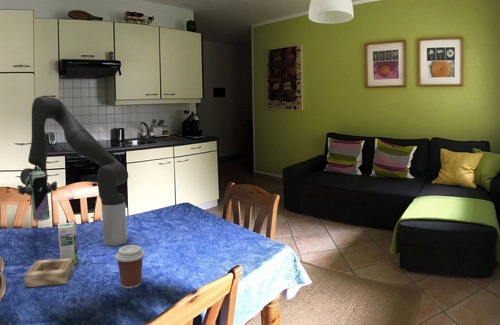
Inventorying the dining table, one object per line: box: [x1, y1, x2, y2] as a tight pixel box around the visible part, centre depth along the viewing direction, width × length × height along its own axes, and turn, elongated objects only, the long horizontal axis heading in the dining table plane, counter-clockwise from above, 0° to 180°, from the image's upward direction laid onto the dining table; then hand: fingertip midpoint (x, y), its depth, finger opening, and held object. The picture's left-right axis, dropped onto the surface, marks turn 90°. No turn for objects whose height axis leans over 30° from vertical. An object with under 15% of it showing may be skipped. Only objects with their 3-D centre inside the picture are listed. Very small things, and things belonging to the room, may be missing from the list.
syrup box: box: [57, 221, 79, 265], centre depth 143 cm, size 6×6×14 cm
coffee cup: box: [114, 244, 145, 289], centre depth 127 cm, size 9×9×12 cm
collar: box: [23, 258, 75, 288], centre depth 132 cm, size 12×12×4 cm
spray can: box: [29, 166, 51, 222], centre depth 147 cm, size 6×6×20 cm
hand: (39, 191), depth 145 cm, fingers closed on spray can, 5 cm apart
